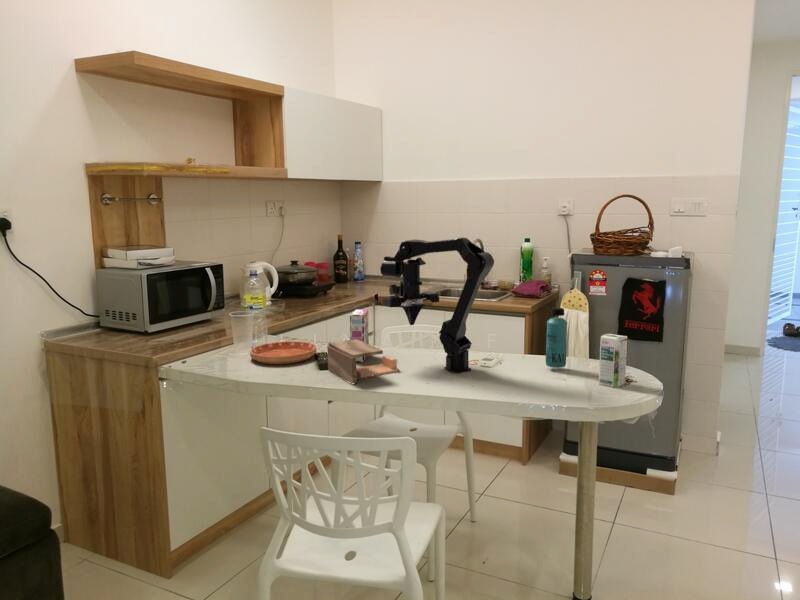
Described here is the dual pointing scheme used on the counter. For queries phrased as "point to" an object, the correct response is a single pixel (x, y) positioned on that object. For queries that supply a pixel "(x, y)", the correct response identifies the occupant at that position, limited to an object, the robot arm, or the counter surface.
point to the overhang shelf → (348, 358)
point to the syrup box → (612, 360)
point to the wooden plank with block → (380, 367)
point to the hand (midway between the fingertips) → (411, 324)
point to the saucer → (283, 352)
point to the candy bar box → (359, 328)
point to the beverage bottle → (556, 340)
